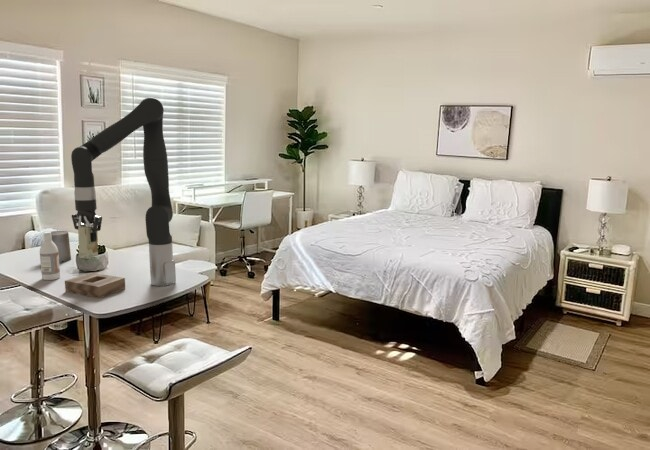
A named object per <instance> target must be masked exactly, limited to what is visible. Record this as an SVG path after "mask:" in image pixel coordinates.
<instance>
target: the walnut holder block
mask: <svg viewBox="0 0 650 450" xmlns="http://www.w3.org/2000/svg"><path fill="white" fill-rule="evenodd" d="M64 289H65V290H64V291H65V293H70V294H75V295H80V296H86V297H90V298H96V299H102V298H104V297H107V296H110V295H112V294H114V293H117V292H120V291H123V290H126V278H125V277H121V276H116V275H115V276H114V275H109V274H103V273H98V272H97V273H96V272H88V273H85V274H83V275H79V276H75V277H72V278H69V279H66V280H64Z"/></svg>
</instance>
